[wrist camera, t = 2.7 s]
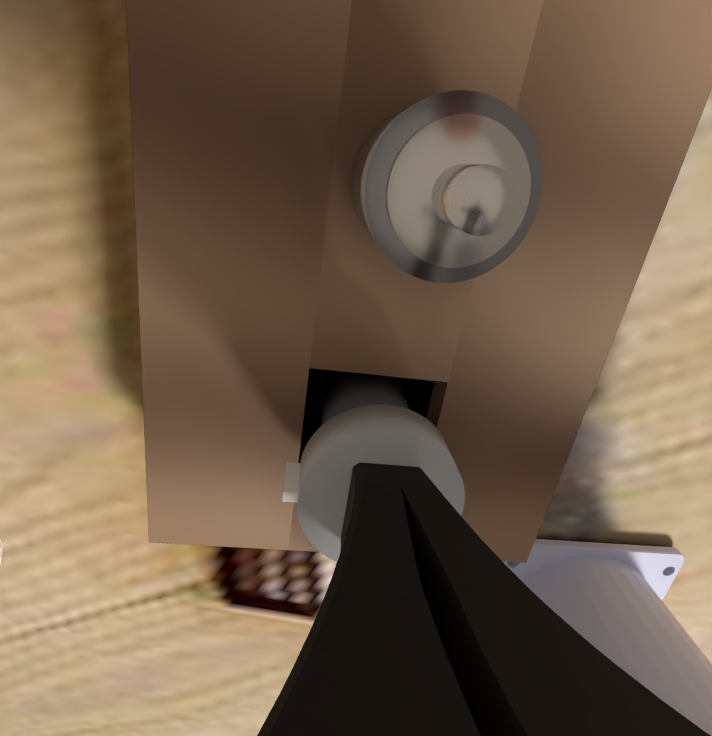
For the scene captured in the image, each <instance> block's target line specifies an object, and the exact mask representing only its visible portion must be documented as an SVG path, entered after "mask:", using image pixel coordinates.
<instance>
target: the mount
mask: <svg viewBox="0 0 712 736" xmlns="http://www.w3.org/2000/svg"><path fill="white" fill-rule="evenodd" d="M126 5H127V29H128V53H129V77H130V101H131V125H132V149H133V173H134V197H135V221H136V245H137V269H138V293H139V316H140V340H141V364H142V388H143V412H144V436H145V460H146V484H147V508H148V532H149V543H168V544H186V545H205V546H224V547H242V548H261V549H279V550H298V551H317V552H320V551H319V550H317V549H316V548H315V547H314V546H313V545H312V544H311V543H310V541H309V540H308V539H307V537H306V536H305V534H304V532H303V530H302V528H301V525H300V522H299V519H298V511H297V505H298V503H295V502H282V499H283V489H284V480H285V471H286V462H293V463H300V462H301V457H302V454H303V451H304V449H305V447H306V445H307V443H301V436H302V427H303V418H304V410H305V401H306V393H307V384H308V375H309V368H314V369H324V370H333V371H343V372H353V373H362V374H372V375H382V376H391V377H401V378H411V379H420V380H430V381H435V382H434V387H433V391H432V395H431V399H430V404H429V408H428V412H427V416H426V419H427V420H429V421H430V422H431V423H432V424H433V425H434V426H435V427H436V428H437V429H438V430H439V432H440V433H441V435H442V436H443V438H444V440H445V442H446V444H447V447H448V449H449V451H450V453H451V455H452V458H453V460H454V462H455V464H456V466H457V469H458V471H459V473H460V475H461V477H462V481H463V484H464V490H465V504H464V508H463V513H462V515H461V517H462V518H463V519H464V520H465V521H466V522H467V523H468V525H469V526H470V527H471V528H472V529H473V530H474V531H475V532H476V534H477V535H478V536H479V537H480V538H481V539H482V540H483V541H484V542H485V543H486V545H487V546H488V547H489V548H490V549H491V550H492V551H493V552H494V553H495V554H496V555H497V556H498V557H499V558H500V559H501V561H502V562H521V563H527V560H528V557H529V555H530V552H531V550H532V547H533V545H534V542H535V540H536V537H537V534H538V532H539V529H540V527H541V524H542V522H543V519H544V517H545V514H546V511H547V509H548V506H549V504H550V501H551V499H552V496H553V494H554V491H555V488H556V486H557V483H558V481H559V478H560V476H561V473H562V471H563V468H564V465H565V463H566V460H567V458H568V455H569V453H570V450H571V447H572V445H573V442H574V440H575V437H576V435H577V432H578V430H579V427H580V424H581V422H582V419H583V417H584V414H585V412H586V409H587V407H588V404H589V401H590V399H591V396H592V394H593V391H594V389H595V386H596V384H597V381H598V378H599V376H600V373H601V371H602V368H603V366H604V363H605V361H606V358H607V355H608V353H609V350H610V348H611V345H612V343H613V340H614V338H615V335H616V332H617V330H618V327H619V325H620V322H621V320H622V317H623V315H624V312H625V309H626V307H627V304H628V302H629V299H630V297H631V294H632V292H633V289H634V286H635V284H636V281H637V279H638V276H639V274H640V271H641V269H642V266H643V263H644V261H645V258H646V256H647V253H648V251H649V248H650V246H651V243H652V240H653V238H654V235H655V233H656V230H657V228H658V225H659V223H660V220H661V217H662V215H663V212H664V210H665V207H666V205H667V202H668V200H669V197H670V194H671V192H672V189H673V187H674V184H675V182H676V179H677V177H678V174H679V171H680V169H681V166H682V164H683V161H684V159H685V156H686V154H687V151H688V148H689V146H690V143H691V141H692V138H693V136H694V133H695V131H696V128H697V125H698V123H699V120H700V118H701V115H702V113H703V110H704V107H705V105H706V102H707V100H708V97H709V95H710V92H711V90H712V0H126ZM456 90H468V91H477V92H480V93H484V94H488V95H490V96H492V97H495V98H497V99H499V100H501V101H502V102H504V103H505V104H507V105H508V106H510V107H511V108H512V109H513V110H514V111H515V112H516V113H518V114H519V116H520V117H521V118H522V119H523V120H524V122H525V123H526V124H527V126H528V128H529V129H530V131H531V133H532V134H533V137H534V139H535V141H536V144H537V146H538V150H539V154H540V157H541V164H542V180H543V183H542V192H541V198H540V203H539V207H538V210H537V213H536V216H535V219H534V221H533V223H532V225H531V227H530V229H529V231H528V233H527V234H526V236H525V238H524V239H523V241H522V242H521V243H520V245H519V246H518V247H517V248H516V250H515V251H514V252H513V253H512V254H511V255H510V256H509V257H508V258H507V259H506V260H504V261H503V262H502V263H501V264H499V265H498V266H497V267H495V268H493V269H492V270H490V271H489V272H487V273H485V274H483V275H480V276H478V277H476V278H473V279H470V280H466V281H461V282H456V283H435V282H430V281H425V280H422V279H419V278H416V277H414V276H412V275H410V274H408V273H406V272H404V271H403V270H401V269H400V268H399V267H397V266H396V265H395V264H394V263H393V262H392V261H390V260H389V259H388V258H387V256H386V255H385V254H384V253H383V251H382V250H381V249H380V247H379V246H378V245H377V243H376V242H375V240H374V239H373V238H372V236H371V235H370V233H369V232H368V230H367V229H366V228H365V226H364V225H363V223H362V222H361V220H360V218H359V216H358V214H357V212H356V209H355V206H354V203H353V198H352V190H351V180H352V172H353V167H354V163H355V160H356V157H357V155H358V153H359V151H360V149H361V147H362V145H363V144H364V142H365V141H366V139H367V138H368V137H369V136H370V134H371V133H372V132H373V131H374V130H376V129H377V128H378V127H379V126H380V125H382V124H383V123H385V122H386V121H388V120H389V119H391V118H393V117H394V116H396V115H397V114H399V113H401V112H402V111H404V110H406V109H407V108H409V107H411V106H412V105H414V104H416V103H418V102H419V101H421V100H423V99H425V98H427V97H430V96H433V95H435V94H438V93H443V92H448V91H456Z"/></svg>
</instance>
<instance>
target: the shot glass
mask: <svg viewBox="0 0 712 736" xmlns="http://www.w3.org/2000/svg"><path fill="white" fill-rule="evenodd" d="M2 549H3V543H2V541H1V539H0V565H1V557H2Z"/></svg>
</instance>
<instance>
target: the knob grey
mask: <svg viewBox="0 0 712 736" xmlns="http://www.w3.org/2000/svg"><path fill="white" fill-rule="evenodd" d="M321 407H322V426H321V427H320V428H319V429H318V430H317V431H316V432H315V433H314V434H313V436H312V437H311V438H310V440H309V441H308V443H307V445H306V447H305V449H304V451H303V454H302V457H301V462H300V463H293V462H286V471H285V480H284V489H283V499H282V502H295V503H298V505H297V511H298V519H299V522H300V525H301V528H302V530H303V532H304V534H305V536H306V537H307V539H308V540H309V541H310V543H311V544H312V545H313V546H314V547H315V548H316V549H317V550H319V551H320V552H321V553H322V554H324V555H325V556H327V557H329V558H330V559H332V560H335V561H338V558H339V555H340V551H341V533H342V528H343V522H344V516H345V510H346V505H347V499H348V493H349V487H350V481H351V476H352V470H353V466H355V465H356V464H358V463H359V462H362V463H375V464H387V465H400V466H413V467H420V468H421V469H422V470H423V471H424V473H425V474H426V475H427V476H428V477H429V478H430V480H431V481H432V482H433V483H434V484H435V486H436V487H437V488H438V489H439V491H440V492H441V493H442V494H443V495H444V497H445V498H446V499H447V500H448V501H449V502H450V504H451V505H452V506H453V507H454V508H455V510H456V511H457V512H458V513H459V514H460V515H462V513H463V508H464V504H465V490H464V484H463V481H462V477H461V475H460V473H459V471H458V469H457V466H456V464H455V462H454V460H453V458H452V455H451V453H450V451H449V449H448V447H447V444H446V442H445V440H444V438H443V436H442V435H441V433H440V432H439V430H438V429H437V428H436V427H435V426H434V425H433V424H432V423H431V422H430V421H429V420H427V419H426V418H425V417H423V416H422V415H420V414H418V413H416V412H414V411H412V410H410V409H409V406H408V403H407V401H406V398H405V395H404V392H403V390H402V387H401V384H400V382H399V379H398V377H391V376H382V375H372V374H362V373H353V372H343V371H333V370H329V371H328V372H327V373H326V375H325V377H324V380H323V383H322V389H321Z"/></svg>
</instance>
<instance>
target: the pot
mask: <svg viewBox="0 0 712 736" xmlns="http://www.w3.org/2000/svg"><path fill="white" fill-rule="evenodd" d="M542 183H543V180H542V164H541V157H540V154H539V150H538V146H537V144H536V141H535V139H534V137H533V134H532V133H531V131H530V129H529V128H528V126H527V124H526V123H525V122H524V120H523V119H522V118H521V117H520V116H519V114H518V113H516V112H515V111H514V110H513V109H512V108H511V107H510V106H508V105H507V104H505V103H504V102H502V101H501V100H499V99H497V98H495V97H492V96H490V95H488V94H484V93H480V92H477V91H468V90H456V91H448V92H443V93H438V94H435V95H433V96H430V97H427V98H425V99H423V100H421V101H419V102H418V103H416V104H414V105H412V106H411V107H409V108H407V109H406V110H404V111H402V112H401V113H399V114H397V115H396V116H394V117H393V118H391V119H389V120H388V121H386V122H385V123H383V124H382V125H380V126H379V127H378V128H377V129H376V130H374V131H373V132H372V133H371V134H370V136H369V137H368V138H367V139H366V141H365V142H364V144H363V145H362V147H361V149H360V151H359V153H358V155H357V157H356V160H355V163H354V167H353V172H352V180H351V190H352V198H353V203H354V206H355V209H356V212H357V214H358V216H359V218H360V220H361V222H362V223H363V225H364V226H365V228H366V229H367V230H368V232H369V233H370V235H371V236H372V238H373V239H374V240H375V242H376V243H377V245H378V246H379V247H380V249H381V250H382V251H383V253H384V254H385V255H386V256H387V258H388V259H389V260H390V261H392V262H393V263H394V264H395V265H396V266H397V267H399V268H400V269H401V270H403V271H404V272H406V273H408V274H410V275H412V276H414V277H416V278H419V279H422V280H425V281H430V282H435V283H456V282H461V281H466V280H470V279H473V278H476V277H478V276H480V275H483V274H485V273H487V272H489V271H490V270H492V269H493V268H495V267H497V266H498V265H499V264H501V263H502V262H503V261H504V260H506V259H507V258H508V257H509V256H510V255H511V254H512V253H513V252H514V251H515V250H516V248H517V247H518V246H519V245H520V243H521V242H522V241H523V239H524V238H525V236H526V234H527V233H528V231H529V229H530V227H531V225H532V223H533V221H534V219H535V216H536V213H537V210H538V207H539V203H540V198H541V192H542Z"/></svg>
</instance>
